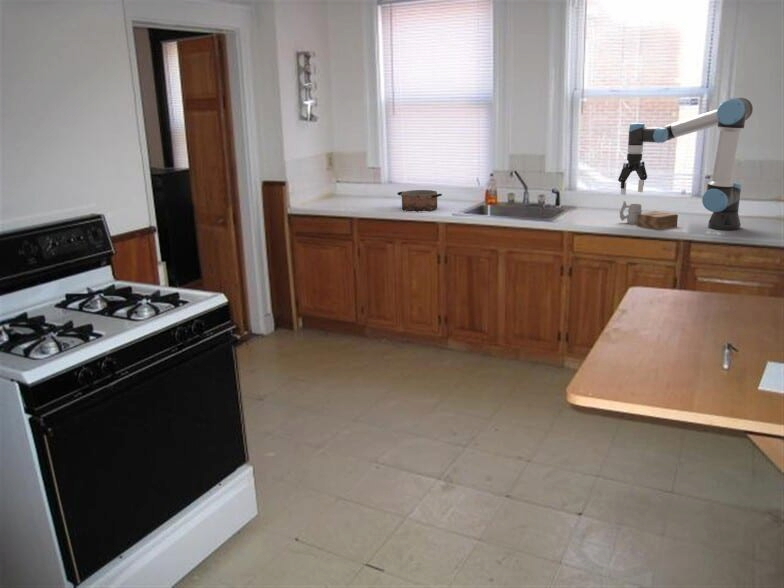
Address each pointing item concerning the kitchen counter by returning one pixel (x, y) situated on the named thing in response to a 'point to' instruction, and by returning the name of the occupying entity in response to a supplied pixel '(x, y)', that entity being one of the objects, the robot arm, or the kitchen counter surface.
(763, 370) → the kitchen counter surface
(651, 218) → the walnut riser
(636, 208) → the mug
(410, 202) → the cooking pot
